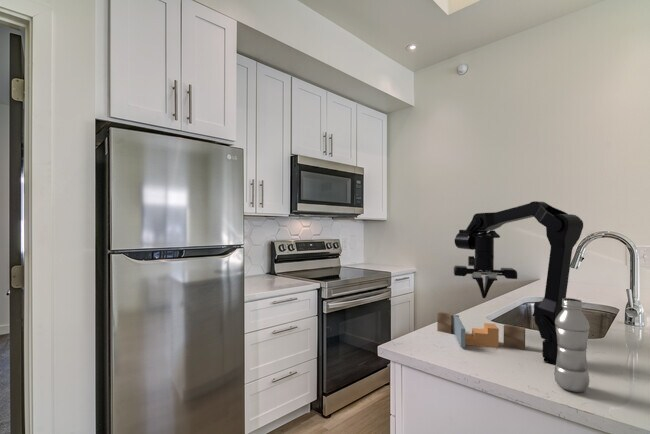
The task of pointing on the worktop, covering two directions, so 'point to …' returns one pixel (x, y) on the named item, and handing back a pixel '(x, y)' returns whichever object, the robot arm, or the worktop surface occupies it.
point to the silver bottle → (572, 347)
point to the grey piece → (459, 330)
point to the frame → (512, 334)
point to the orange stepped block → (484, 336)
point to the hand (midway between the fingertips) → (483, 298)
